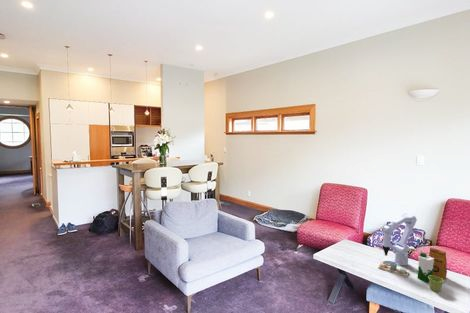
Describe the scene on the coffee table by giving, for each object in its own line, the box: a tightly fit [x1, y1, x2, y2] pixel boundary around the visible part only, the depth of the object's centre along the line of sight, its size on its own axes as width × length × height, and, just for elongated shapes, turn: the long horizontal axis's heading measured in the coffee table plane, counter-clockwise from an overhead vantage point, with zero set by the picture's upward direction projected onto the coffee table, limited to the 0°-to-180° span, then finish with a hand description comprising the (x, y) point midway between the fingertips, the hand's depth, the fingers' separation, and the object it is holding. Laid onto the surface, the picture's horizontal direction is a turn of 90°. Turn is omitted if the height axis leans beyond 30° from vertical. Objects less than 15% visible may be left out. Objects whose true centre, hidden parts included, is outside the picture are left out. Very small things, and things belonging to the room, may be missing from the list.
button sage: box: [399, 268, 407, 274], centre depth 222 cm, size 4×4×3 cm
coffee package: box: [428, 247, 448, 281], centre depth 219 cm, size 10×12×22 cm
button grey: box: [390, 264, 397, 271], centre depth 227 cm, size 4×4×3 cm
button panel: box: [377, 263, 410, 278], centre depth 227 cm, size 21×8×2 cm, turn 50°
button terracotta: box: [380, 262, 388, 268], centre depth 231 cm, size 4×4×3 cm
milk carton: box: [417, 252, 434, 283], centre depth 213 cm, size 9×9×20 cm
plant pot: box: [428, 275, 445, 293], centre depth 199 cm, size 9×9×9 cm
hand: (386, 255), depth 235 cm, fingers closed
